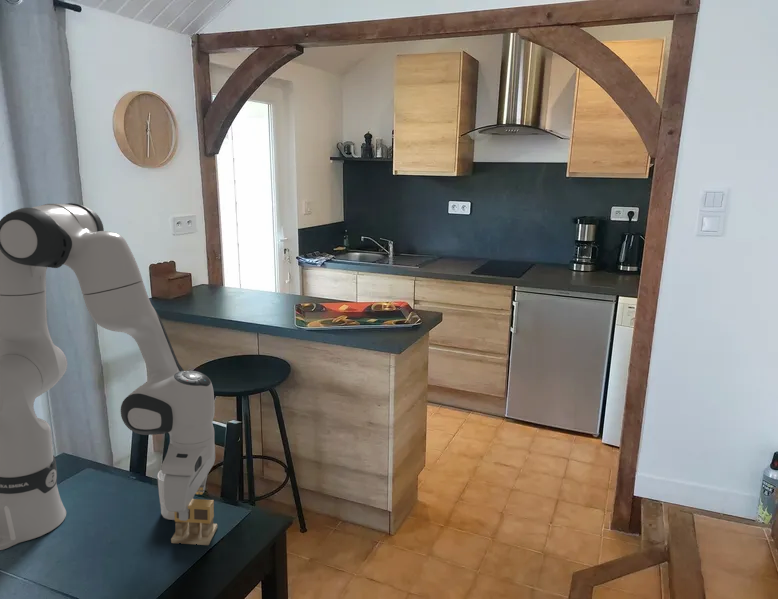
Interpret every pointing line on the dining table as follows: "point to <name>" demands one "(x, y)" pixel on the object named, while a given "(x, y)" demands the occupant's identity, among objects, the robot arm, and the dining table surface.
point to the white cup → (164, 511)
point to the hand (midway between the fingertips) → (192, 505)
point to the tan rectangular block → (199, 511)
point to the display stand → (193, 533)
